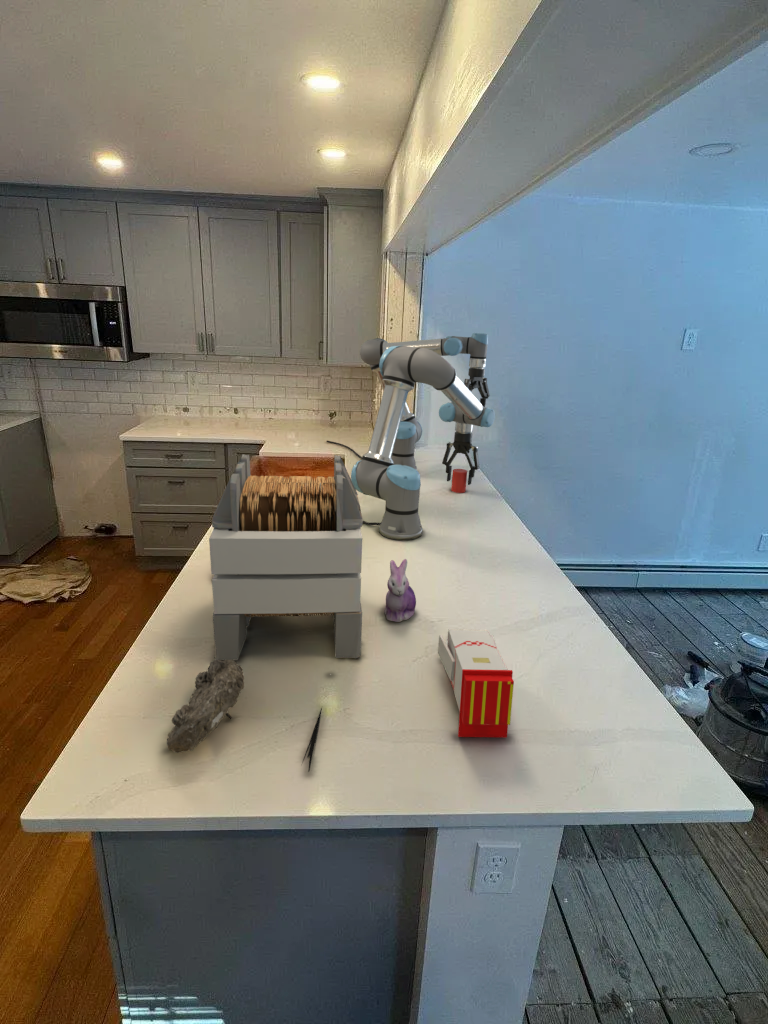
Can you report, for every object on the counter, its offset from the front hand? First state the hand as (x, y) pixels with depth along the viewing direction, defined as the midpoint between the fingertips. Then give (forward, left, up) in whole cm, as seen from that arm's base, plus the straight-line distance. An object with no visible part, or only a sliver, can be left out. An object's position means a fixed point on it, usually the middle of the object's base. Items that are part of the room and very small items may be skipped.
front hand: (459, 482), depth 250 cm
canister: (0, 0, -4) cm, 4 cm away
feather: (+85, -132, -4) cm, 157 cm away
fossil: (+72, -148, -4) cm, 165 cm away
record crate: (+51, -118, -4) cm, 128 cm away
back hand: (-19, +28, +25) cm, 42 cm away
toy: (+97, -103, -4) cm, 141 cm away
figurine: (+64, -93, -4) cm, 113 cm away
